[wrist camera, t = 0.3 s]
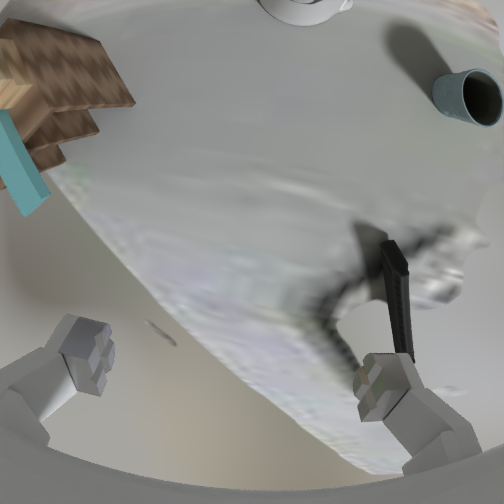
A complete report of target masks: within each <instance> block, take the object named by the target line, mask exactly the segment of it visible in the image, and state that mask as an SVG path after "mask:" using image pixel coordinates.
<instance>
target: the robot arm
mask: <svg viewBox="0 0 504 504" xmlns="http://www.w3.org/2000/svg"><path fill="white" fill-rule="evenodd" d="M259 1H260V3H261V5H262V6H263V7H264V9H265V10H266V11H267V12H268V13H269V14H271V15H272V16H273V17H275V18H277V19H278V20H280V21H283V22H285V23H288V24H292V25H299V26H309V25H315V24H319V23H322V22H324V21H326V20H327V19H329V18H330V17H332V16H333V15H334V14H336V13H339V12H344V11H348V10H350V9H351V7H352V5H353V2H352V0H259ZM111 334H112V330H111V327H110V325H109V324H107V323H103V322H99V321H95V320H91V319H87V318H83V317H79V316H75V315H71V314H66V315H64V316H63V318H62V320H61V321H60V323H59V324H58V326H57V327H56V329H55V331H54V332H53V334H52V335H51V337H50V339H49V340H48V342H47V344H46V345H45V347H44V348H42V347H40V348H38V349H36V350H34V351H32V352H30V353H29V354H27V355H25V356H23V357H21V358H20V359H18V360H16V361H14V362H12V363H11V364H9V365H7V366H6V367H4V368H2V369H0V504H504V443H503V444H502V445H499V446H497V447H494V448H492V449H489V450H487V451H484V452H482V450H481V447H480V445H479V442H478V439H477V437H476V434H475V432H474V430H473V427H472V425H471V424H470V423H469V422H468V421H467V420H466V419H465V418H463V417H462V416H461V415H460V414H459V413H457V412H456V411H455V410H454V409H452V408H451V407H450V406H449V405H448V404H446V403H445V402H444V401H443V400H442V399H440V398H439V397H438V396H437V395H436V394H434V393H433V392H432V391H431V390H430V389H428V388H424V386H423V383H422V381H421V379H420V377H419V374H418V372H417V370H416V368H415V366H414V363H413V361H412V359H411V357H410V355H409V354H408V353H369V354H367V355H366V356H365V358H364V359H363V363H364V366H362V367H361V368H359V369H358V370H357V371H356V373H355V375H354V379H353V392H354V396H355V397H356V398H358V399H359V400H360V402H359V404H358V406H357V407H358V411H359V415H360V419H361V422H372V421H383V423H384V424H385V426H386V427H387V428H388V429H389V430H390V431H391V433H392V434H393V435H394V436H395V437H396V438H397V439H398V441H399V442H400V443H401V444H402V445H403V446H404V448H405V449H406V450H407V451H408V452H409V453H410V455H411V456H412V457H413V458H411V459H410V460H409V461H408V462H406V463H405V464H404V465H403V467H402V470H403V474H404V476H403V477H398V478H393V479H388V480H383V481H377V482H371V483H365V484H358V485H351V486H343V487H334V488H322V489H307V490H278V491H277V490H268V491H267V490H240V489H225V488H214V487H204V486H196V485H188V484H182V483H175V482H169V481H164V480H159V479H153V478H149V477H144V476H139V475H135V474H131V473H127V472H123V471H119V470H115V469H112V468H108V467H104V466H101V465H97V464H95V463H91V462H88V461H85V460H82V459H79V458H76V457H73V456H70V455H68V454H65V453H62V452H60V451H57V450H55V449H52V448H50V447H47V445H48V442H49V439H50V436H49V434H48V432H47V431H46V430H45V428H44V427H43V426H42V425H41V422H42V421H43V420H44V419H46V418H47V417H48V416H49V415H50V414H52V413H53V412H54V411H55V410H56V409H58V408H59V407H60V406H61V405H63V404H64V403H65V402H66V401H67V400H69V399H70V398H71V397H72V396H73V395H74V394H76V393H77V391H80V392H84V393H88V394H92V395H96V396H100V397H101V395H102V392H103V390H104V387H105V385H106V382H107V379H106V376H105V374H106V373H107V372H109V371H110V370H111V369H112V366H113V363H114V357H115V346H114V342H113V341H112V340H111V339H110V336H111Z"/></svg>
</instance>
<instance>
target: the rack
mask: <svg viewBox="0 0 504 504" xmlns="http://www.w3.org/2000/svg"><path fill="white" fill-rule="evenodd" d="M135 104H136V103H135V101H134V99H133V98H132V96H131V94H130V93H129V91H128V89H127V88H126V86H125V84H124V83H123V81H122V79H121V77H120V76H119V74H118V72H117V71H116V69H115V67H114V65H113V64H112V62H111V60H110V59H109V57H108V55H107V53H106V52H105V50H104V48H103V47H102V45H101V43H100V41H97V40H94V39H91V38H88V37H84V36H81V35H78V34H74V33H71V32H67V31H63V30H60V29H56V28H52V27H48V26H44V25H39V24H35V23H30V22H26V21H21V20H16V19H10V18H8V19H7V20H6V21H5V23H4V24H3V25H2V26H1V27H0V110H3V109H7V111H8V113H9V115H10V117H11V119H12V121H13V124H14V126H15V128H16V130H17V132H18V134H19V136H20V138H21V140H22V142H23V144H24V146H25V148H26V150H27V152H28V153H29V155H30V157H31V159H32V161H33V163H34V165H35V166H36V168H37V170H38V172H39V173H40V172H43V171H45V170H48V169H50V168H53V167H55V166H58V165H61V164H63V163H64V162H66V159H65V157H64V155H63V154H62V152H61V150H60V148H59V146H58V145H57V144H60V143H64V142H68V141H71V140H75V139H79V138H83V137H87V136H92V135H96V134H97V133H99V132H100V131H99V129H98V127H97V126H96V124H95V122H94V120H93V119H92V117H91V115H90V113H89V112H88V110H87V109H94V108H110V107H132V106H133V105H135ZM4 188H7V187H6V185H5V183H4V181H3V180H2V178H1V176H0V190H2V189H4Z"/></svg>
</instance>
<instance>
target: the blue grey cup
mask: <svg viewBox="0 0 504 504" xmlns="http://www.w3.org/2000/svg"><path fill="white" fill-rule="evenodd" d="M432 98H433V101H434V104H435V106H436V107H437V109H438V110H439V111H440V112H441V113H442V114H444V115H446V116H448V117H452V118H456V119H460V120H462V121H466V122H469V123H473V124H475V125H478V126H481V127H485V128H489V127H493V126H495V125H496V124H497V123H498V122H499V121H500V119H501V117H502V115H503V111H504V98H503V94H502V90H501V88H500V86H499V84H498V82H497V81H496V79H495V78H494V77H493V76H492V75H491V74H490V73H488V72H487V71H485V70H482V69H472V70H468V71H463V72H461V73H453V74H447V75H443V76H440V77H439V78H437V79H436V81H435V82H434V84H433V87H432Z"/></svg>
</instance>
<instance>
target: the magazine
mask: <svg viewBox="0 0 504 504" xmlns="http://www.w3.org/2000/svg"><path fill="white" fill-rule="evenodd" d="M379 246H380V249H381V256H382V264H383V272H384V280H385V287H386V295H387V302H388V309H389V315H390V321H391V328H392V334H393V341H394V347H395V353H408V354H409V355H410V357H411V359H412V361H413V363H415V359H414V351H413V341H412V330H411V318H410V300H409V271H408V263H407V261H406V259H405V258H404V256H403V254H402V252H401V251H400V249H399V247H398V246H397V244H396V242H395V241H394V240H388V241H385V242H383V243H382V244H380V245H379Z"/></svg>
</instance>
